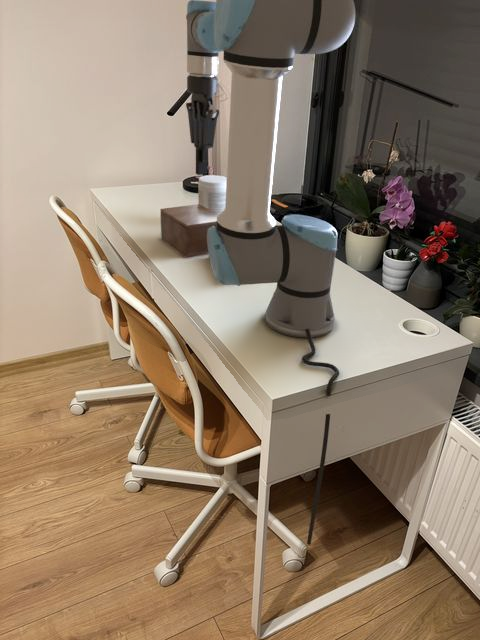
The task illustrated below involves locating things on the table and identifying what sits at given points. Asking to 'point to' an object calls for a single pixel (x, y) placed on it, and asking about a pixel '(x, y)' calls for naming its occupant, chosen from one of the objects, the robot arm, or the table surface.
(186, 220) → the lid
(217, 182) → the supplement tub
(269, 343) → the table surface
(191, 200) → the table surface
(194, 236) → the chest
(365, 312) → the table surface
